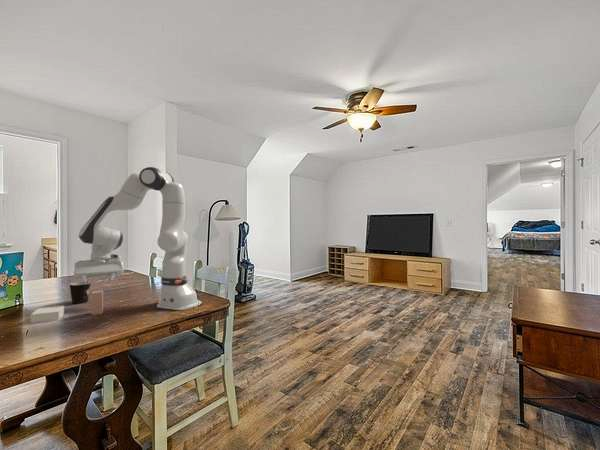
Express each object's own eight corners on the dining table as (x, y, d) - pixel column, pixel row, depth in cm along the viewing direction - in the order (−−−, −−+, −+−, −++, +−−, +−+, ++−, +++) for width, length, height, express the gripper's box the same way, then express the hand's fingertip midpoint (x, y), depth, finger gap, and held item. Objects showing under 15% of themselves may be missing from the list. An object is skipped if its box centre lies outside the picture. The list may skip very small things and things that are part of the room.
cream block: (64, 314, 128) (64, 305, 128) (58, 320, 120) (58, 311, 120) (38, 317, 124) (38, 308, 124) (30, 324, 116) (30, 314, 116)
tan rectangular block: (102, 311, 132) (103, 290, 132) (102, 313, 129) (102, 292, 129) (92, 312, 130) (92, 291, 130) (91, 315, 127) (91, 293, 127)
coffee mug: (78, 305, 140) (78, 285, 139) (64, 303, 141) (65, 284, 141) (99, 298, 151) (99, 280, 151) (86, 297, 153) (86, 279, 153)
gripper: (74, 257, 136) (70, 281, 128) (123, 255, 146) (123, 277, 138) (75, 264, 140) (72, 288, 132) (123, 262, 150) (123, 284, 142)
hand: (98, 282), depth 135 cm, fingers open, 8 cm apart
